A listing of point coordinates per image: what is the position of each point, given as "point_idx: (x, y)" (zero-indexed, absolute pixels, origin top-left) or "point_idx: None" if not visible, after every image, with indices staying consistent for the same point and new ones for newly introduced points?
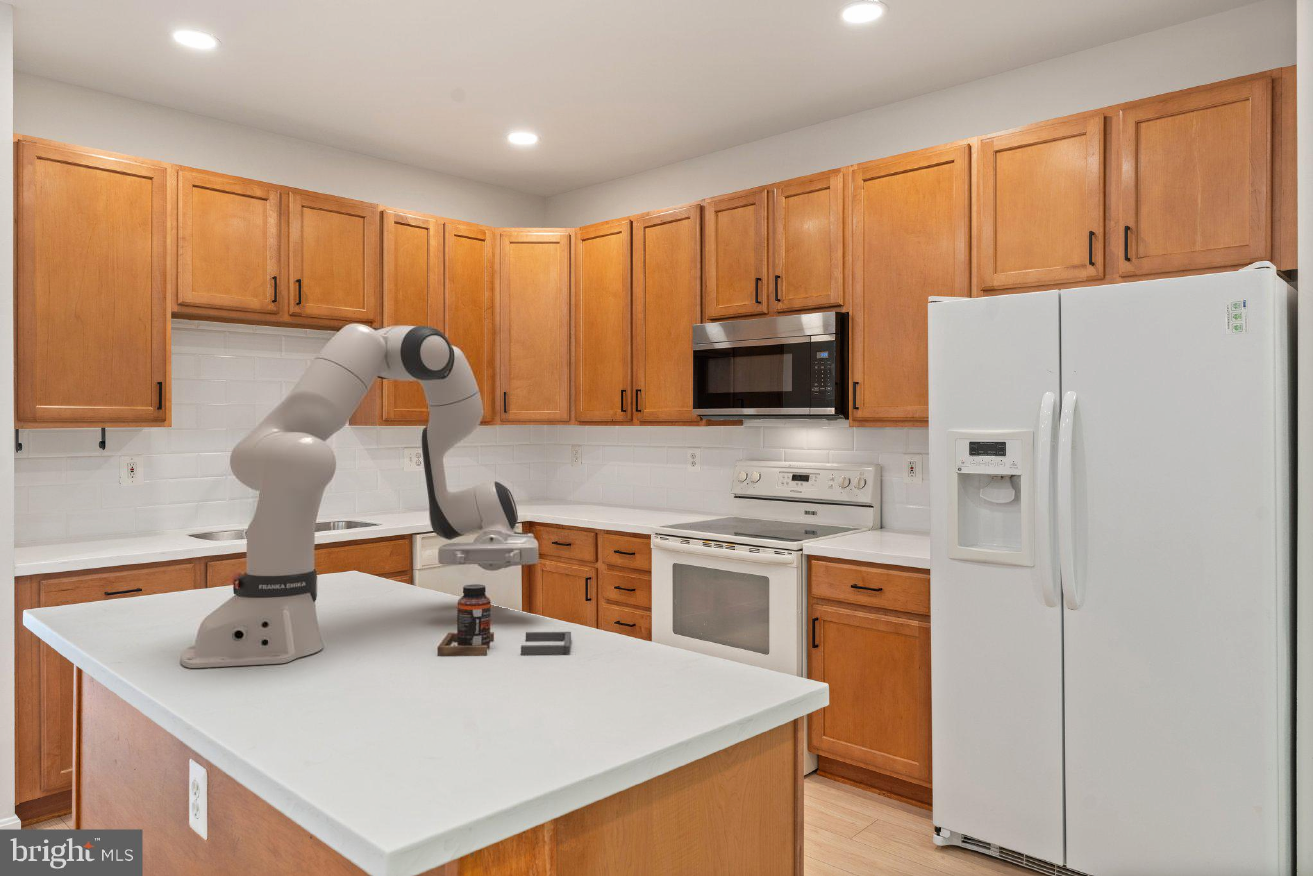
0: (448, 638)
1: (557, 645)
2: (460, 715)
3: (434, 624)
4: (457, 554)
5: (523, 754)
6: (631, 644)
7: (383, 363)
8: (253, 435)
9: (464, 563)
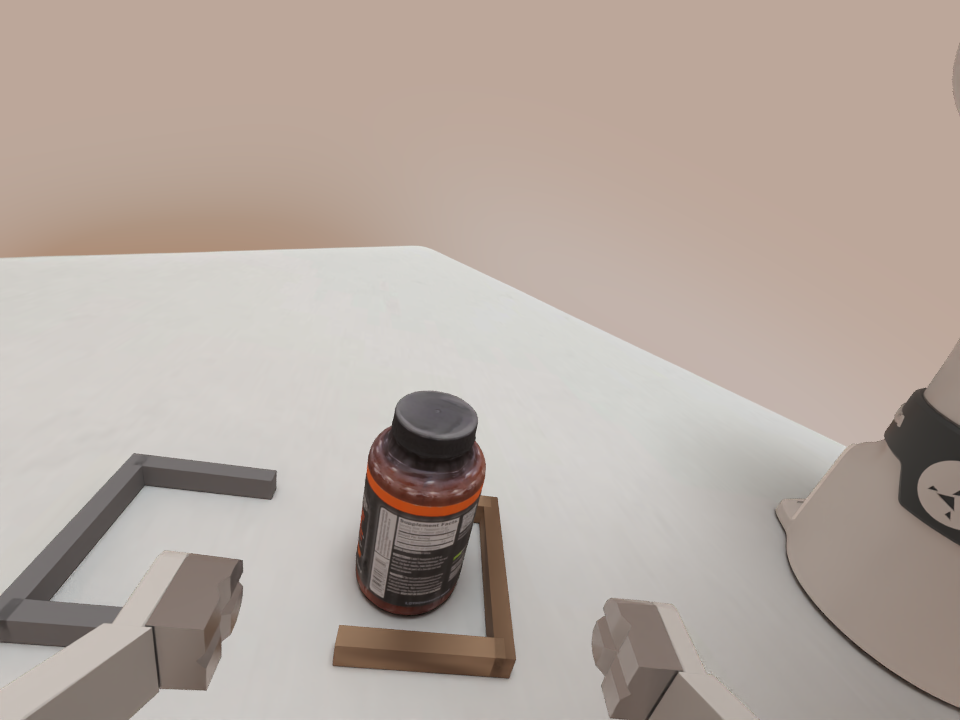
0: (492, 575)
1: (165, 462)
2: (404, 319)
3: None
4: (714, 682)
5: (346, 270)
6: None
7: None
8: None
9: (592, 644)
